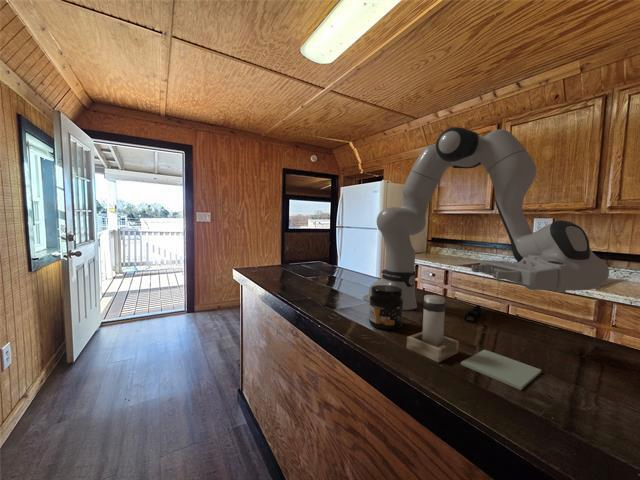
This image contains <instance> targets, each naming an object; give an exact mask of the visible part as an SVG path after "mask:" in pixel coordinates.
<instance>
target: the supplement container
mask: <svg viewBox="0 0 640 480" xmlns="http://www.w3.org/2000/svg"><path fill="white" fill-rule="evenodd" d="M371 293H372V295H371V296H370V302H369V317H368V321H369V324H370V325H371V326H372V327H374V328H376V329H379V330H384V331H393V330H394V331H395V330H398V329H400V328H401V327H402V326H403V311H404V310H403V299H402V298H401V296H402V289H401V288H398V287H395V286H389V285H376V286H373V287H372V289H371Z"/></svg>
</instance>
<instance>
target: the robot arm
mask: <svg viewBox="0 0 640 480" xmlns="http://www.w3.org/2000/svg"><path fill="white" fill-rule="evenodd" d="M481 165H482V166H483V167H484V169H485V171H486V173H487V174H488V176H489V178H490V180H491V184H492V186H493V191H494V203H495V206H496V209H497V212H498V213H499V214H498V215H499V216H500V219H501V222H502V224H503V226H504V228H505V231H506V233H507V236H508V239H509V241H510V246H511V250H512V254H513V257H514V260H515V261H516V262H511V261H506V260H505V261H504V260H490V259H489V260H488V259H487V260H486V259H483V260H481V261H480V262H479V264H472V265H471V272H473V273H481V274H485V275H488V276H491V277H494V279H496V280H497V279H498V280H506V281H510V282H512V283H513V282H514V283H516V284H520V285H523V286H524V287H525V289H528V290H531V291H548V292H549V291H550V292H555V293H566V292H567V291H590V290H593V289H597V288H599V287H601V286H602V285H604V284H605V283H606V282H607V280H608V278H609V276H610V269H609V266H608V264H607V263H606V262H605V261H604V260H603V259H601V258H600V257H599V256H597V255H596V254H595V253H594V252H593V250H592V249H591V248H590V240H589V238H588V235H587V234H586V231H585V230H584V229H583V228H582V227H580V226H579V225H577V224H576V223H574V222H571V221H568V220H555V221H554V222H551V223H550V224H547V225H545V226H543V227H541V228H539V229H538V230H536V231H534V232H533V230H532V229H531V226H530V224H529V222H528V219H527V217H526V215H525V213H524V211H523V203H524V199H525V196H526V194H527V193H528V191H529V189H530V188H531V186H532V185H533V183H534V181H535V179H536V175H537V171H538V170H537V166H536V163H535V160H534V158H533V157H532V156H531V154H530V153H529V152H528V150H527V148H525V146H524V145H523V143H521V141H520V140H518V138H517V137H515V135H514V134H512V133H511V132H510V131H508V130H507V129H503V128H499V129H495V130H492V131H490V132H488V133H487V134H485V135H483V136H479V134H478V133H477V132H475V131H474V130H470V129H467V128H464V127H458V126H453V127H449V128H447V129H445V130H443V131H442V132H441V133H440V135H439V136H438V137H437V140H436V141H435V144H430V145H427V146H426V147H424V148H423V149H422V151H421V152H420V154H419V155H418V157H417V158H416V160H415V161H414V164H413V165H412V167H411V170H410V172H409V174H408V175H407V178H406V180H405V182H404V184H403V186H402V189H401V191H402V192H401V193H402V196H403V197H402V202H401V206H399V207H396V206H393V207H392V206H391V207H388V208H385V209H382V210H381V211H380V212H379V213H378V215H377V218H376V226H377V229H378V230H379V231H380V233H381V234H382V237H383V240H384V245H385V250H386V251H385V268H384V270H383V269H382V270H381V271H380V274H382V276H381V277H380V278H379V279H378V280H377V281H374V282H373V283H371V285H370V287H369V289H368V294H366V295H364V296H363V297H362V299H364V300H363V301H365V302H368V303H370V296H371V295H372V293H371V289H372V287H373V286H376V285H389V286H395V287H398V288H401V289H402V296H401V298H402V299H403V310H402V311H411V310H415V309H418V305H417V304H418V303H417V300H416V294H415V293H416V291H415V284H416V271H415V267H416V251H415V248H413V245H412V241H411V236H415V235H418V234H419V233H421V232H422V231H423V230H424V229H425V227H426V224H427V223H426V221H427V220H426V215H427V212H428V207H429V204H430V202H431V199H432V197H433V196H434V194H435V192H436V189H437V187H438V186H439V183H440V181H441V179H442V177H443V176H444V173H445V172H446V171H447V170H448V169H449V168H450V167H451V168H453V169H474V168H476V167H479V166H481Z"/></svg>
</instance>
